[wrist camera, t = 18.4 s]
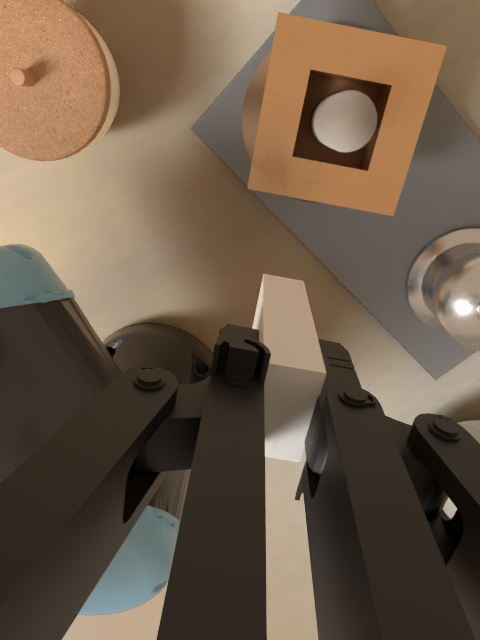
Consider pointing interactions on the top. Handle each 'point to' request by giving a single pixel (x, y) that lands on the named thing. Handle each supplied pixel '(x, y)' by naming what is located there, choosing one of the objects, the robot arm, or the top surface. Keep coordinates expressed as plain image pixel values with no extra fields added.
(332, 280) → the top surface
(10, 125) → the lidded jar
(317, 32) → the wooden square ring
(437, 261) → the pale stepped hub
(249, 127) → the walnut hub
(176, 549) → the robot arm
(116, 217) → the top surface
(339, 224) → the rubber mat
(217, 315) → the top surface
